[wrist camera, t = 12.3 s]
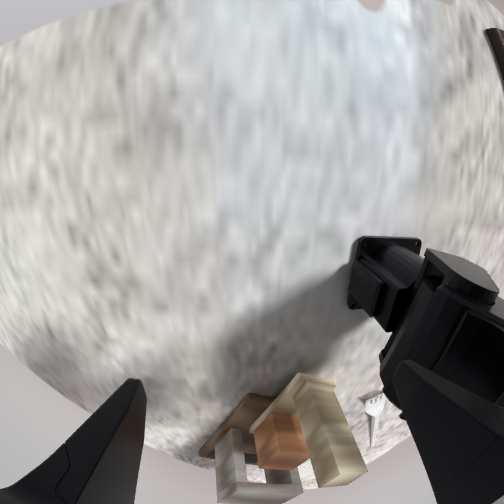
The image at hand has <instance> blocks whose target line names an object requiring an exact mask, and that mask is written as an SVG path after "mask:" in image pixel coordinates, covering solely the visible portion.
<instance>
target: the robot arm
mask: <svg viewBox="0 0 504 504" xmlns="http://www.w3.org/2000/svg"><path fill="white" fill-rule="evenodd" d="M366 240H367V243H366V244H365V245H364V242H365V241H366ZM416 243H417V244H416ZM415 244H416V246H415ZM421 244H422V242H421V240H420V239H418V238H411V237H387V236H362V237H361V238H360V240H359V244H358V250H357V255H356V261H355V262H354V264H353V269H352V274H351V279H350V284H349V289H348V290H349V296H348V300H347V306H348V307H349V309H351V310H354V309H364V310H365V311H366V313H367V314H368V315H369V316H370V317H374V318H375V319H376V321H377V322H378V323H379V324H380V325H381V327H382V328H383V329H384V330H385V332H392V334H391V336H390V338H389V340H388V342H387V344H386V346H385V348H384V349H383V350H382V351H381V353H380V354H379V360H380V364H381V365H380V377H381V380H382V383H383V385H384V387H383V389H382V391H383V393H384V395H385V396H386V397H387V398H388V400H389V401H390V402H391V403H392V404H393V405H394V406H395V407H397V408H398V409H399V410H401V411H402V413H401V414H400V415H399V417H400V418H401V419H403V420H406V422H407V424H408V426H409V429H410V431H411V434H412V436H413V438H414V441H415V443H416V446H417V448H418V451H419V453H420V456H421V459H422V461H423V464H424V466H425V469H426V472H427V475H428V478H429V480H430V483H431V486H432V489H433V492H434V495H435V498H436V501H437V504H504V300H503V299H501V298H500V297H498V293H499V288H498V287H497V286H496V284H495V283H494V281H493V280H492V278H491V277H490V276H489V274H488V273H487V271H486V270H485V269H483V268H481V267H479V266H477V265H476V264H474V263H472V262H470V261H468V260H466V259H464V258H461V257H458V256H455V255H451V254H448V253H444V252H440V251H437V250H433V249H430V248H426V251H425V254H424V256H425V258H422V257H421V256H419V253H420V249H421ZM353 302H354V304H353V305H351V304H352V303H353ZM146 404H147V397H146V393H145V390H144V387H143V384H142V381H141V380H140V379H133V378H129V379H127V380H126V381H125V382H124V383H123V384H122V385H121V386H120V387H119V388H118V389H117V390H116V391H115V392H114V393H113V394H112V395H111V396H110V397H109V398H108V399H107V400H106V401H105V402H104V403H103V404H102V405H101V406H100V407H99V408H98V409H97V410H96V411H95V412H94V413H93V414H92V415H91V416H90V418H88V419H87V420H86V421H85V422H84V423H83V424H82V425H81V426H80V427H79V428H78V429H77V430H76V431H75V432H74V433H73V434H72V435H71V436H70V437H69V438H68V439H67V440H66V442H65V443H64V444H62V445H61V446H60V447H59V448H58V449H57V450H56V451H55V452H54V453H53V454H52V455H51V456H50V457H49V458H48V459H46V460H45V461H44V462H43V463H41V464H40V465H39V466H38V467H36V468H35V469H34V470H32V471H31V472H30V473H28V474H27V475H26V476H24V477H23V478H22V479H20V480H19V481H18V482H16V483H15V484H13V485H11V486H9V487H6V488H3V489H0V504H134V500H135V493H136V485H137V479H138V472H139V466H140V460H141V454H142V449H143V443H144V432H145V417H146Z"/></svg>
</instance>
